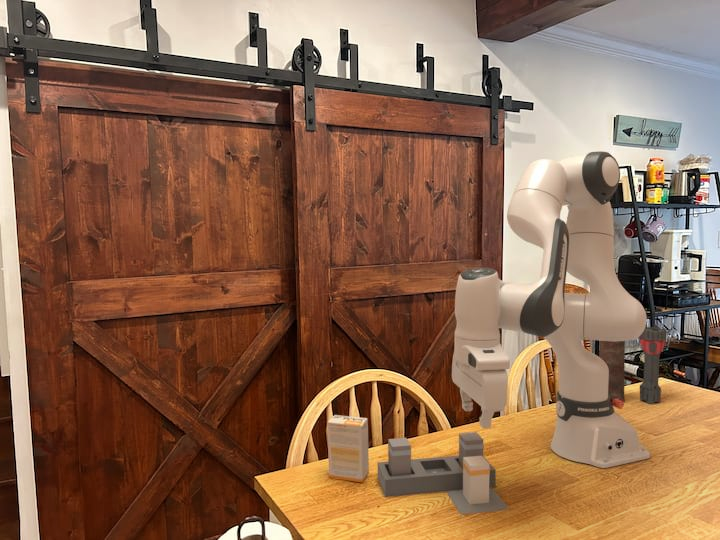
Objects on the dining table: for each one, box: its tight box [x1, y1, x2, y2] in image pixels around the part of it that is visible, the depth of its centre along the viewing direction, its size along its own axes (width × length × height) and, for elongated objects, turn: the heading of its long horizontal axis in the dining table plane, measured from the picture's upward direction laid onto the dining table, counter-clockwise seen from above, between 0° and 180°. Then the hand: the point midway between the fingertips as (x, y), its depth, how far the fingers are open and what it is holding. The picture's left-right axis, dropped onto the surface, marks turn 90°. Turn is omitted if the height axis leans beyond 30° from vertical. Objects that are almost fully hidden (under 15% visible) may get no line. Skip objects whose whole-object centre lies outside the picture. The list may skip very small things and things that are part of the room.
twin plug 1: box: [387, 437, 412, 476], centre depth 113 cm, size 4×4×8 cm
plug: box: [463, 456, 490, 505], centre depth 107 cm, size 4×4×8 cm
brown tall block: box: [598, 340, 626, 403], centre depth 165 cm, size 8×7×20 cm
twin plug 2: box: [458, 431, 485, 469], centre depth 115 cm, size 4×4×8 cm
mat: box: [445, 487, 510, 515], centre depth 107 cm, size 10×10×1 cm
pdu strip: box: [377, 454, 497, 498], centre depth 114 cm, size 24×8×4 cm, turn 99°
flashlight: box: [637, 325, 667, 405], centre depth 165 cm, size 8×8×23 cm
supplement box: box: [326, 414, 370, 484], centre depth 118 cm, size 8×5×13 cm, turn 71°
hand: (475, 418), depth 106 cm, fingers open, 8 cm apart
